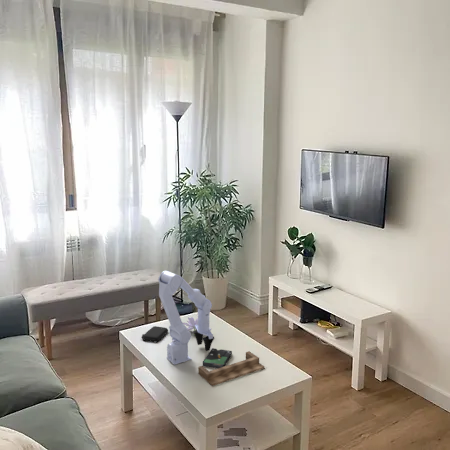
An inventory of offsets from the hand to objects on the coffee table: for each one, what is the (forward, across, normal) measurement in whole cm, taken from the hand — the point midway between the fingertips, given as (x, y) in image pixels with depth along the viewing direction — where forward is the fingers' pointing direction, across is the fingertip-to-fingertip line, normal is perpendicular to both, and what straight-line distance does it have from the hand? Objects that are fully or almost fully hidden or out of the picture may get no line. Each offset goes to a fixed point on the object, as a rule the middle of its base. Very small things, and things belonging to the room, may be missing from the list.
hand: (203, 347), depth 231 cm
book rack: (+1, -26, 0) cm, 26 cm away
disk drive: (+2, -13, 0) cm, 13 cm away
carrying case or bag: (+2, +28, +14) cm, 31 cm away
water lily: (+2, +20, -7) cm, 21 cm away
